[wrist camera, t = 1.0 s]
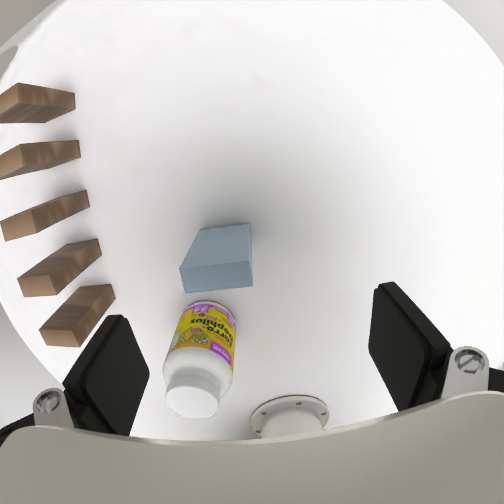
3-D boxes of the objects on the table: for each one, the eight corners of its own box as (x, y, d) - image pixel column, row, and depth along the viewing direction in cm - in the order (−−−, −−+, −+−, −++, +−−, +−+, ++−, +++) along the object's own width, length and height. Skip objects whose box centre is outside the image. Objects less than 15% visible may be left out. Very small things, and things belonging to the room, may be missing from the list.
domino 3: (89, 206, 28) (36, 233, 19) (58, 214, 28) (5, 241, 19) (86, 189, 27) (30, 210, 18) (55, 198, 28) (-1, 221, 18)
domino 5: (115, 298, 32) (79, 347, 23) (85, 300, 32) (46, 345, 23) (110, 284, 31) (71, 330, 22) (79, 286, 32) (38, 329, 22)
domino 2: (80, 157, 26) (22, 166, 17) (49, 168, 26) (-8, 182, 17) (78, 140, 25) (20, 144, 16) (47, 152, 26) (-11, 161, 16)
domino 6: (251, 241, 30) (252, 286, 21) (203, 247, 30) (185, 293, 21) (248, 223, 29) (249, 260, 20) (200, 229, 29) (179, 268, 20)
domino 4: (101, 254, 30) (56, 295, 21) (70, 259, 30) (24, 297, 21) (97, 238, 29) (49, 274, 20) (66, 244, 30) (17, 278, 20)
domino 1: (75, 109, 24) (17, 102, 15) (44, 122, 24) (-14, 124, 15) (74, 93, 23) (17, 82, 14) (43, 108, 23) (-14, 105, 14)
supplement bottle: (246, 314, 33) (246, 398, 21) (220, 351, 35) (211, 433, 23) (194, 288, 32) (168, 366, 20) (172, 329, 34) (145, 407, 22)
